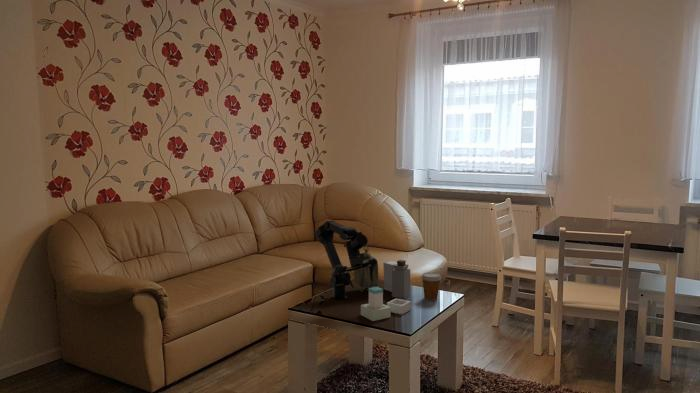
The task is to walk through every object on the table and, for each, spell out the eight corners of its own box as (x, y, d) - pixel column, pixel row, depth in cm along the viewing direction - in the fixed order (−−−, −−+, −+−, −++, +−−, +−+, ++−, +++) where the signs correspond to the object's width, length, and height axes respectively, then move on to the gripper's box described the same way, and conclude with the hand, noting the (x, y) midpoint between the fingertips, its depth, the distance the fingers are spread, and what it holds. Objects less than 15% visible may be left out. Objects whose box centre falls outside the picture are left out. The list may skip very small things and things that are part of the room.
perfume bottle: (409, 295, 257) (410, 260, 255) (403, 298, 251) (404, 262, 249) (398, 293, 260) (398, 258, 258) (391, 296, 255) (392, 261, 253)
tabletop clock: (378, 294, 257) (378, 246, 254) (360, 296, 255) (361, 247, 252) (369, 287, 271) (369, 240, 268) (353, 288, 269) (353, 241, 266)
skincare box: (401, 291, 263) (402, 263, 262) (392, 293, 260) (393, 264, 258) (391, 287, 270) (392, 260, 269) (382, 289, 267) (383, 261, 265)
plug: (368, 315, 227) (368, 288, 225) (376, 313, 229) (377, 286, 228) (374, 318, 223) (374, 290, 221) (382, 316, 225) (383, 289, 224)
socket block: (360, 314, 227) (360, 305, 227) (378, 311, 232) (378, 301, 232) (372, 321, 219) (372, 311, 219) (390, 317, 224) (390, 307, 224)
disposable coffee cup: (439, 302, 246) (439, 277, 244) (419, 300, 249) (419, 276, 247) (441, 296, 254) (442, 273, 253) (423, 294, 258) (423, 271, 256)
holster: (386, 311, 232) (387, 302, 232) (395, 306, 239) (395, 298, 238) (402, 314, 228) (402, 305, 227) (410, 309, 234) (410, 301, 234)
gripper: (332, 254, 230) (341, 287, 225) (372, 243, 231) (382, 276, 225) (335, 259, 241) (343, 291, 235) (373, 249, 241) (382, 280, 236)
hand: (362, 285), depth 233 cm, fingers open, 9 cm apart
